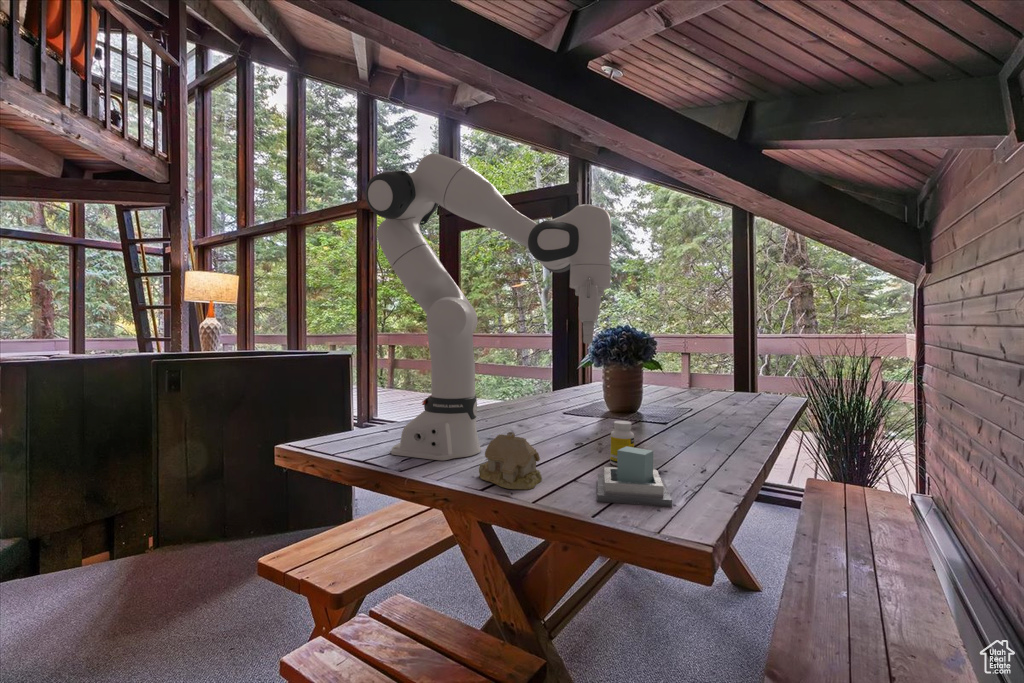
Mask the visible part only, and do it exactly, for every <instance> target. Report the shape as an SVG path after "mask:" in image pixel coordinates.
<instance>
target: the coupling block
mask: <svg viewBox="0 0 1024 683" xmlns="http://www.w3.org/2000/svg"><path fill="white" fill-rule="evenodd" d="M616 467H617V481H622V482H638V483H653V470H654V450H651V449H644V448H638V447H635V446H634V447H627V446H626V447H624V448H621V449H619V450H618V451H617V466H616Z"/></svg>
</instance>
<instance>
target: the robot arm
mask: <svg viewBox="0 0 1024 683" xmlns="http://www.w3.org/2000/svg"><path fill="white" fill-rule="evenodd" d="M365 200H366V203H367V206H368V207H369V209H370V211H371V212H373V214H375V215H377V216H378V217H379V218H380V217H381V218H384V220H383V221H382V222H381V223H380V224H379V226H378V227H377V230H376V238H377V241H378V244H379V246H380V249H381V250H382V253H383V254H384V257H385V258H386V260H387V262H388V263H389V265H390V266H391V268H392V270H393V271H394V273H395V274H396V275H397V277H398V279H399V280H400V281H401V283H402V285H403V286H404V287H405V290H407V292H408V294H409V295H410V296H411V297H412V298H413V299H414V301H415V302H416V303H417V304H418V305H419V307H420V308H421V309H422V310H423V312H424V313H425V314H426V319H425V320H426V326H427V338H428V339H427V340H428V349H429V350H428V351H429V356H430V364H431V368H430V369H431V370H430V371H431V376H430V377H431V382H430V383H431V386H430V387H431V392H430V393H431V395H428V396H427V397H426V398H425V399H423V400H422V403H421V405H422V406H423V408H424V410H423V411H422V412H420V413H419V414H418V415H416V416H415V418H413V419H412V420H410V421H409V422H408V423H406V425H405V426H404V428H402V432H401V437H400V442H398V443H396V444H395V445H394V446H393V447H392V448H391V451H390V452H391V453H390V454H391V455H392V456H400V457H409V458H417V459H427V460H434V461H447V460H452V459H458V458H465V457H471V456H475V455H478V454H479V453H480V452H482V448H481V445H480V440H479V436H478V429H477V421H476V420H477V419H476V418H477V415H478V401H477V400H478V399H477V395H476V361H475V350H474V333H475V331H476V329H477V326H478V322H479V321H478V320H479V319H478V315H477V311H476V310H475V308H474V307H473V305H472V304H471V303H470V301H469V300H468V298H467V297H466V296H465V294H464V293H463V291H462V290H461V288H460V287H459V286H458V285H457V283H456V282H455V280H454V279H453V278H452V276H451V275H450V273H449V272H448V271H447V269H446V268H445V267H444V265H443V263H442V262H441V260H440V259H439V257H438V256H437V254H436V253H435V251H434V250H433V248H432V247H431V246H430V243H429V242H428V241H427V240H426V238H425V236H424V235H423V234H422V231H421V229H420V226H423V225H426V224H427V223H428V221H429V220H430V218H431V216H433V214H434V213H435V212H436V210H437V209H438V207H439V206H440V207H442V208H443V209H445V210H447V211H449V212H450V213H452V214H453V215H456V216H458V217H460V218H463V219H465V220H466V221H467V220H468V221H470V222H472V223H476V224H478V225H481V226H483V227H486V228H490V229H493V230H494V231H497V232H500V233H502V234H504V235H506V236H507V237H509V238H511V239H512V240H514V241H515V242H517V243H519V244H520V245H522V246H523V247H525V248H527V249H528V250H529V252H530V254H531V256H533V258H534V259H535V260H536V261H537V262H538V263H541V265H542V266H543V267H544V268H545V269H546V270H548V271H550V272H552V273H557V274H560V273H564V272H567V271H569V288H570V289H573V290H574V294H575V296H576V297H578V298H579V299H578V302H579V303H578V320H579V322H581V323H582V333H583V337H582V340H583V341H582V342H583V344H588V345H589V344H592V343H593V341H594V328H595V324H597V323H598V321H599V315H600V309H601V308H600V306H601V300H602V297H604V296H605V291H606V290H608V289H610V288H611V276H612V274H611V273H612V272H611V270H612V268H611V267H612V263H611V260H610V253H611V250H612V245H613V244H612V243H613V242H612V240H613V239H612V238H613V237H612V236H613V235H612V221H611V216H610V214H609V212H608V211H607V210H606V209H604V208H603V207H600V206H599V205H595V204H587V203H586V204H585V203H584V204H577V205H576V206H575V207H574V208H573V209H571V210H570V211H568V212H567V213H565V214H563V215H561V216H558V217H555V218H551V219H549V220H543V221H541V222H539V223H537V222H535V221H534V220H532V219H530V218H529V217H527V216H526V215H524V214H522V213H521V212H520V211H518V210H517V209H516V208H514V207H513V206H512V204H510V203H509V202H508V201H507V200H506V199H505V197H504V196H503V195H502V194H501V192H500V191H498V189H497V187H495V186H494V184H492V182H490V181H489V180H488V179H487V178H485V177H484V175H482V174H481V173H480V172H478V171H476V170H475V169H474V168H471V167H470V166H469V165H466V164H464V163H463V162H461V161H458V160H456V159H454V158H451V157H449V156H446V155H443V154H440V153H437V152H435V153H430V154H429V153H428V154H427V155H425V156H423V158H422V159H421V160H420V161H419V162H418V165H417V166H416V169H414V171H413V172H407V171H406V170H395V171H394V170H393V171H384V172H380V173H378V174H375V175H374V176H372V177H371V178H370V179H369V180H368V182H367V184H366V187H365Z"/></svg>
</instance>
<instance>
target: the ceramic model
mask: <svg viewBox="0 0 1024 683" xmlns="http://www.w3.org/2000/svg"><path fill="white" fill-rule="evenodd" d="M484 457H485V458H486V459H487V461H486V462H485V463H481V464H480V465H479V468H478V472H479V478H480V479H481V480H482V481H486V482H490V483H492V484H493V485H496V486H499V487H501V488H505V489H510V490H531V489H534V488H535V486H537V485H538V484H539V483H540V482H542V480H543V479H542V478H543V477H542V474H541V471H540V470H539V469H537V462H540V461H541V458H540V455H539V452H538V451H537V449H535V448H534V446H532V444H530V443H529V442H528V441H527V438H524V437H522V436H521V437H520V436H516V435H515V432H513V431H508V432H507V433H506V434H503V433H501V434H498V435H497V436H496V437H495V438H494V439H492V440H490V442H489V444H488V445H487V448H486V449H485V452H484Z"/></svg>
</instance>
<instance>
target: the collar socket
mask: <svg viewBox="0 0 1024 683" xmlns="http://www.w3.org/2000/svg"><path fill="white" fill-rule="evenodd" d="M603 468H604V469H603V472H604V473H603V474H600V473H599V474H597V493H596V494H597V499H596V500H597V501H596V502H597V503H598V502H599V503H610V504H611V503H612V504H626V505H641V506H642V505H643V506H653V507H654V506H655V507H656V506H658V507H671V508H672V507H673V499H672V496H671V494H670V492H669V490H668V488H667V485H666V482H665V480H664V478H663V477H660V474H659V471H658V470H657V469H653V483H638V482H622V481H617V466H616V467H615V466H603Z"/></svg>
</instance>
